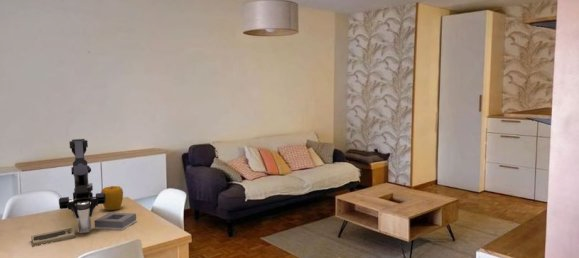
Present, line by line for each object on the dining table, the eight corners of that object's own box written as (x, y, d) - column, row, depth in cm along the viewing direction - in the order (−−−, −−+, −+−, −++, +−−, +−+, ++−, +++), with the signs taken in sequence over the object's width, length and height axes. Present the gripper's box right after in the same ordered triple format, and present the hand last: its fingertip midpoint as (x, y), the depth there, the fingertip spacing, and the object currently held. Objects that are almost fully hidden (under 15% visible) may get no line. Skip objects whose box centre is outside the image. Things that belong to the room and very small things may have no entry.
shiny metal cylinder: (75, 232, 181) (73, 203, 179) (83, 228, 186) (81, 200, 184) (86, 233, 180) (84, 204, 179) (93, 228, 185) (91, 200, 184)
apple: (100, 213, 213) (99, 189, 212) (102, 207, 223) (101, 184, 222) (123, 211, 217) (122, 187, 215) (124, 205, 227) (123, 182, 225)
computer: (33, 247, 170) (32, 240, 169) (31, 241, 176) (30, 234, 176) (75, 239, 179) (74, 231, 179) (72, 233, 185) (71, 226, 185)
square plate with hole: (94, 228, 190) (94, 220, 190) (109, 220, 202) (109, 212, 201) (122, 230, 188) (122, 221, 187) (136, 221, 200) (135, 213, 199)
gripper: (57, 180, 180) (58, 211, 171) (103, 175, 188) (107, 205, 180) (59, 193, 187) (60, 224, 179) (103, 188, 196) (106, 217, 187)
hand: (83, 217), depth 181 cm, fingers closed on shiny metal cylinder, 5 cm apart
